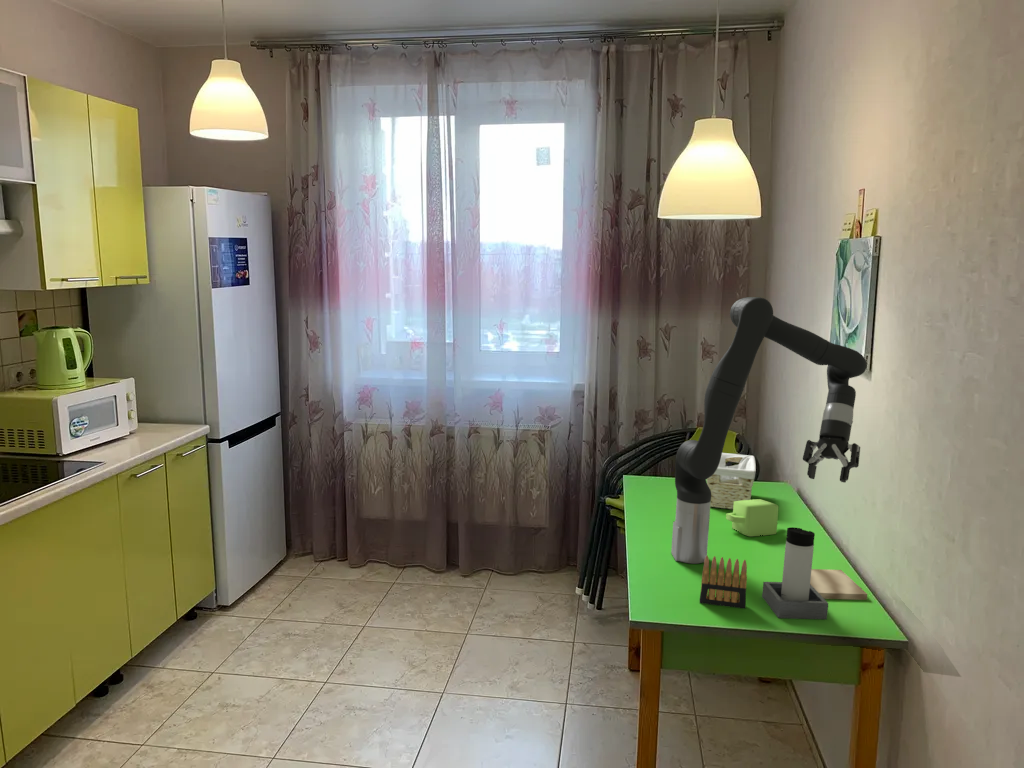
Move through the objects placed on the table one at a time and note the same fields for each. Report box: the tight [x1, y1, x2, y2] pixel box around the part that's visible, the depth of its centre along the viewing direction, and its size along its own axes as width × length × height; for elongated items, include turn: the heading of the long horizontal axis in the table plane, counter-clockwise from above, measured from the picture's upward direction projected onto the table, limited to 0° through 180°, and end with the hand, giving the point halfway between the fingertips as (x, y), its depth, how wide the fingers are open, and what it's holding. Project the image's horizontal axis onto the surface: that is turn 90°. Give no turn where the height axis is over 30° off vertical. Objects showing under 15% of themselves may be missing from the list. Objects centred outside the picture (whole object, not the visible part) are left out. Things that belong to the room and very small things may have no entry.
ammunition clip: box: [699, 555, 748, 609], centre depth 181 cm, size 11×2×12 cm, turn 77°
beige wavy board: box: [810, 568, 868, 601], centre depth 194 cm, size 13×15×2 cm
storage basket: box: [706, 452, 757, 510], centre depth 263 cm, size 24×16×15 cm
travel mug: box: [781, 527, 816, 601], centre depth 179 cm, size 6×7×20 cm
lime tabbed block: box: [725, 498, 779, 537], centre depth 234 cm, size 18×10×10 cm, turn 111°
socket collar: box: [761, 581, 829, 620], centre depth 181 cm, size 11×11×4 cm
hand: (826, 480), depth 200 cm, fingers open, 8 cm apart
